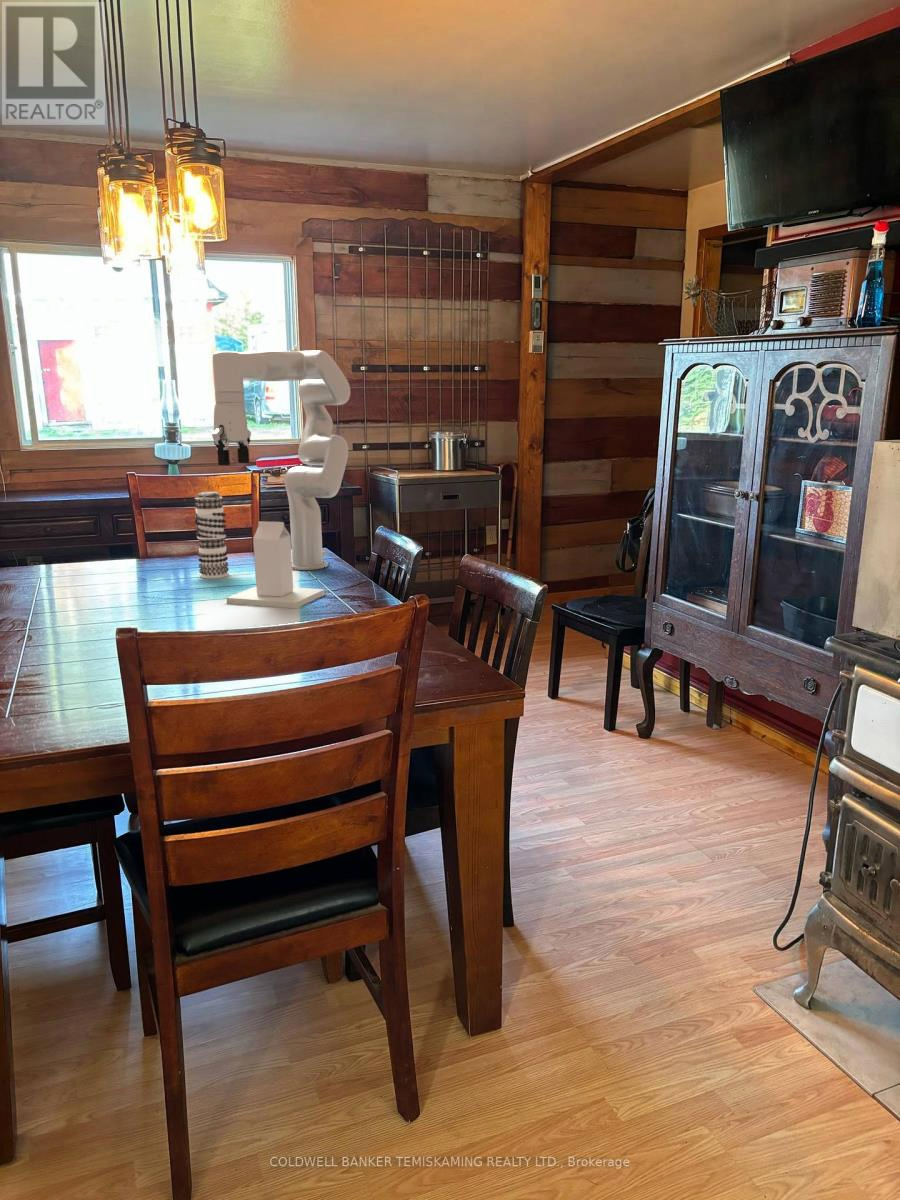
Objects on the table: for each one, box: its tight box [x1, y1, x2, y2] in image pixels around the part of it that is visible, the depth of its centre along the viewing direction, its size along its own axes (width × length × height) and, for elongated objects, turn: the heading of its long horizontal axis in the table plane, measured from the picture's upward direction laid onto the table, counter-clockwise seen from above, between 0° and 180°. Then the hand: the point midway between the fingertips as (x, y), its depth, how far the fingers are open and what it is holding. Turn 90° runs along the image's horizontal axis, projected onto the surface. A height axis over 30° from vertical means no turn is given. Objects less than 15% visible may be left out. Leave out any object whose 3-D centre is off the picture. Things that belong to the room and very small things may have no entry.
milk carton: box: [252, 521, 294, 597], centre depth 213 cm, size 7×7×19 cm
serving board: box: [226, 585, 325, 609], centre depth 216 cm, size 16×20×2 cm
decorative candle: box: [193, 491, 230, 579], centre depth 244 cm, size 9×9×25 cm
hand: (234, 463), depth 223 cm, fingers open, 9 cm apart
